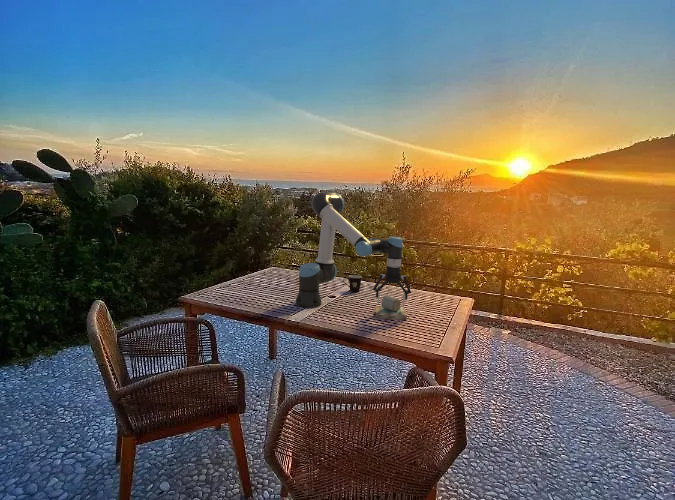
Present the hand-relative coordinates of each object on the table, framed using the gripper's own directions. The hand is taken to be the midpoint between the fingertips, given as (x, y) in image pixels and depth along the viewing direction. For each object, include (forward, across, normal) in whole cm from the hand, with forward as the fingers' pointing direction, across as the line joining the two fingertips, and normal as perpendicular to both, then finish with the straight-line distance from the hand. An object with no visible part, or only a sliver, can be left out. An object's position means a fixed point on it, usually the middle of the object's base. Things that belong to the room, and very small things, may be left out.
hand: (390, 304), depth 203 cm
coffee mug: (+7, -23, +47) cm, 52 cm away
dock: (+6, 0, 0) cm, 6 cm away
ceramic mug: (+3, +1, +1) cm, 4 cm away
